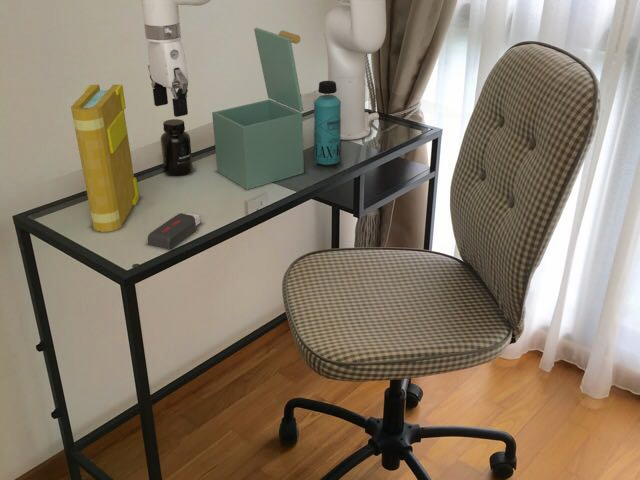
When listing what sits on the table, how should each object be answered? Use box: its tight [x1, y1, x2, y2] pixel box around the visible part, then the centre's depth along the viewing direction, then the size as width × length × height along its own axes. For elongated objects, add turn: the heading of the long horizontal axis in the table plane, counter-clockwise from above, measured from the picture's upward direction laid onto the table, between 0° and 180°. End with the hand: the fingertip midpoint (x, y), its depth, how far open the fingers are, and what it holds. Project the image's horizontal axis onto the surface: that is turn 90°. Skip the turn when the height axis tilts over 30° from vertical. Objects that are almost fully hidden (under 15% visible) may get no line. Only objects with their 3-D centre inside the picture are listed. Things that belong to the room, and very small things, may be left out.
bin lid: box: [253, 27, 304, 113], centre depth 177 cm, size 16×14×6 cm
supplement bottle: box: [160, 118, 194, 177], centre depth 183 cm, size 7×7×12 cm
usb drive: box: [147, 212, 201, 250], centre depth 157 cm, size 5×12×3 cm, turn 154°
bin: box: [211, 98, 305, 190], centre depth 181 cm, size 16×14×14 cm
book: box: [70, 84, 140, 233], centre depth 160 cm, size 17×7×25 cm, turn 178°
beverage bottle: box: [313, 80, 342, 166], centre depth 182 cm, size 6×7×20 cm
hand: (171, 110), depth 178 cm, fingers open, 9 cm apart
